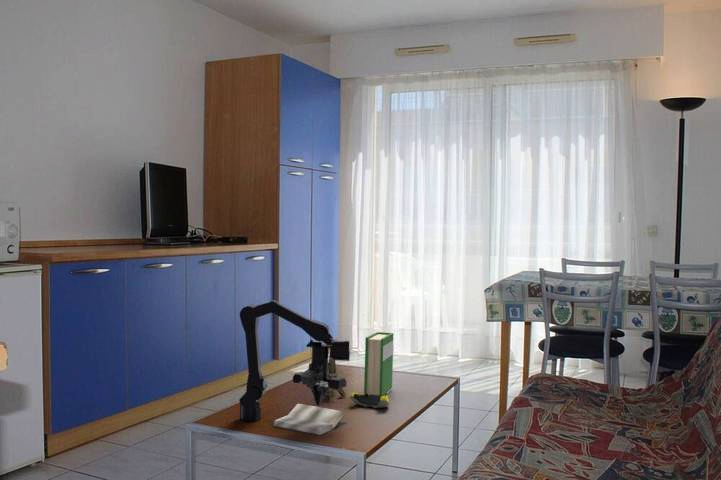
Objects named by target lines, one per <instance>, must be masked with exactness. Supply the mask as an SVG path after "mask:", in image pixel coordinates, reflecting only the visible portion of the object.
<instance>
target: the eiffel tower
mask: <svg viewBox="0 0 721 480" xmlns="http://www.w3.org/2000/svg"><path fill="white" fill-rule="evenodd" d="M329 349H330V348H328V350H329ZM328 362H330V366H328V374H330V377H329V378H328V379H332V378H335V377H338V375H339V372H337V367H336V361H335V360H333V358H332V357H330V355H328ZM335 391H337V392H338V394H339V398H341V399H345V398H346V399H348V398H349V396H348V395H347V393H346V392H345V390H344V389H343V388H340V389H332V388H329V389H328V390H327V392H326V394H325V396H328V395H330V399H329V400H328V402H331V403H337V402H339V401H340V399H339V400H338V397H337V395H336V392H335ZM347 397H348V398H347ZM312 399H313V400H315V398H314V397H312Z"/></svg>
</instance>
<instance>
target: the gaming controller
mask: <svg viewBox="0 0 721 480" xmlns="http://www.w3.org/2000/svg"><path fill="white" fill-rule="evenodd" d="M349 399H350V400H351V401H352V402H353V403H354V404H356V405H358V406H362V407H363V406H364V407H363V408H369V406H370V407H372V408H374V409H384V408H383V407H385V408H387V407H388V406H389V405H390V400H389V396H388V394H387V395H385V396H382V397H381V396H380V395H372V394H370V395H368V393H364V392H363V393H362V394H359V393H357V392H352V393H351V394H350V396H349Z"/></svg>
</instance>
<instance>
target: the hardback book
mask: <svg viewBox="0 0 721 480" xmlns="http://www.w3.org/2000/svg"><path fill="white" fill-rule="evenodd" d="M394 334H395V333H393V332H380V331H376V332H374V333H372V334H370V335H368V336H366V337H365V339H364V340H365V349H364V381H363V383H364V384H363V394H364V393H368V395H370V394H372V395H380V396H381V397H382V396H384V395H385V394H386V393H387V392H388V391H389V390H390V389H391V388H392V389H393V367H394V366H393V363H394V361H393V360H394Z"/></svg>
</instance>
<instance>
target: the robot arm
mask: <svg viewBox="0 0 721 480" xmlns="http://www.w3.org/2000/svg"><path fill="white" fill-rule="evenodd" d="M270 314H274V315H276V316H277V317H279V318H281V319H284V321H287V322H288V323H290V324H293V325H295V326H296V327H298V328H300V329H301V330H303V331H304V332H305V333H306V334H307V335H308V336H309V337H311V339H310V340H309V342H308V343H307V344H306V345H305V347H306V348H311V362H309V364H308V368H307V369H306V370H305V371H301V372H296V373H294V374H293V375H292V383H295V384H301V383H302V385H303V386H306V387H307V388H308V389H310V390H311V392H312V395H313V398H315V399H314V401H315V404H316V407H321V405H322V402H323V401H324V398H325V397H326V395H325V394H326V392H327V390H328V389H329V388H332V389H340V388H342V389H343V388H345V387H347V380H346V378H345V377H339V376H337V377H335V378H332V379H329V377H330V374H328V366H330V362H329V356H330V357H332V358H333V360H335V362H337V361H340V362H342V361H343V362H350V359H351V357H350V355H351V349H350V340H335V338H334V336H333V335H331V333H330V328H329V325H327V323H325V322H322V321H318V320H316V319H312V318H309V317H306V316H303V315H302V314H300V313H299V312H297V311H296V310H293V309H291V308H290V307H287V306H285V305H284V304H282V303H280V302H279V301H278V300H276V299H275V300H274V299H272V300H270V301H268V302H265V303H261V304H257V305H255V304H247V305H246V306H244V307H242V308H241V310H240V311H239V319H240V323H241V326H242V329H243V330H244V334H245V335H244V336H245V346H246V347H245V348H246V359H247V369H248V370H247V372H248V375H247V380H246V389H245V390H246V391H245V392H244V393H243V394H242V396H241V397H240V398H239V399H238V401H239V417H238V421H242V422H248V423H254V422H257V421H260V420H261V412H262V407H261V403H260V402H259V400H260V399H261V398H262V397H263V396H264V394H265V392H266V391H267V388H268V387H269V385H268V383H267V375H263V373H262V371H261V363H260V362H261V359H260V350H259V349H260V347H259V337H258V327H259V322H260V317H263V316H266V315H270ZM329 348H330V350H329Z"/></svg>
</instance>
